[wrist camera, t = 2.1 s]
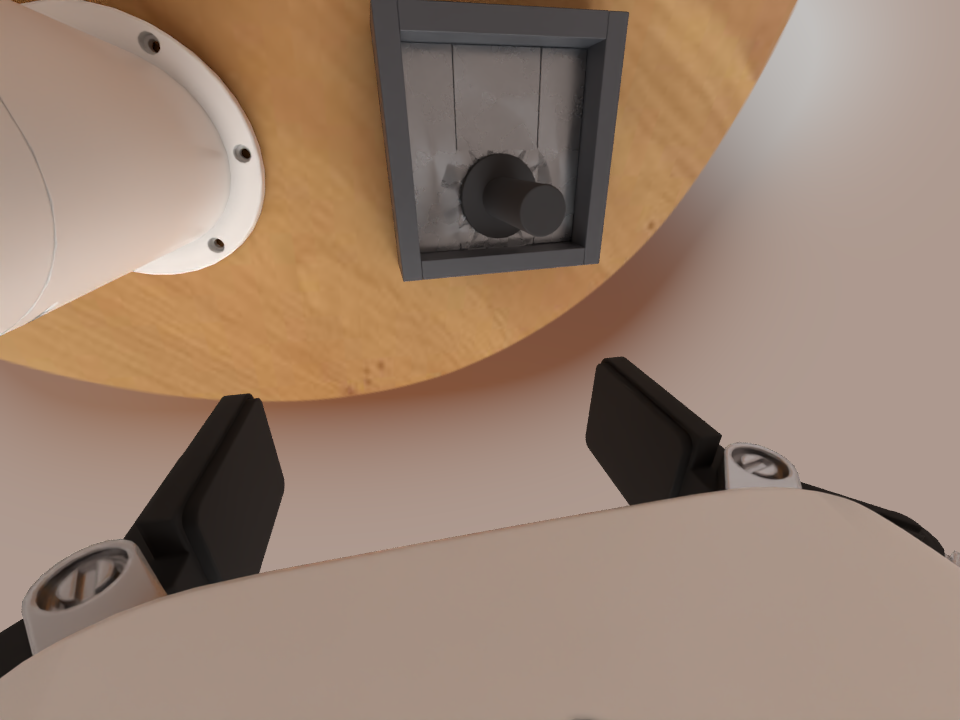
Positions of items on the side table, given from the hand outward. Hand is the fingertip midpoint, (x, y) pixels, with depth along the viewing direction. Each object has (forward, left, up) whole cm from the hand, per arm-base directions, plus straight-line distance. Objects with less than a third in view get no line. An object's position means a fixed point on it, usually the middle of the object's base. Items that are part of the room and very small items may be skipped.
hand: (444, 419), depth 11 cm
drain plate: (+7, +6, -19) cm, 21 cm away
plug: (+7, +4, -19) cm, 21 cm away
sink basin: (+7, +6, -19) cm, 21 cm away
